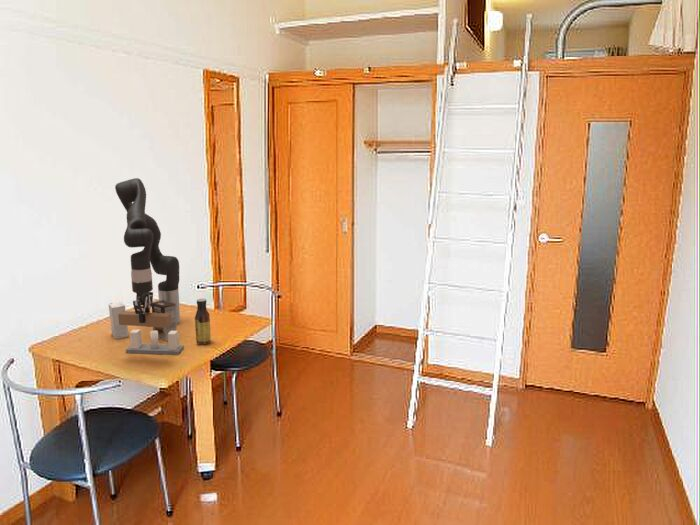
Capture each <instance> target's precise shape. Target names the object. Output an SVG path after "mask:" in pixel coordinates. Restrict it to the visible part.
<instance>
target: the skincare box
mask: <svg viewBox="0 0 700 525" xmlns="http://www.w3.org/2000/svg"><path fill="white" fill-rule="evenodd" d="M108 311H109V321H110V330H111V335H112V337H113V338H114V339H115V340H118V339H125V338H128V337H129V332H128V325H119V318H118V314H119V313H121V312H123V311H126V305H125V304H124V303H123V301H118V302H113V303H112V302H111V303H108Z"/></svg>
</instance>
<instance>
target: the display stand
mask: <svg viewBox="0 0 700 525" xmlns="http://www.w3.org/2000/svg"><path fill="white" fill-rule="evenodd" d="M149 333H150V335H149V336H150V343H143V341H142V340H143V338H142V330H141V329H140V328H139V329H137V328H134V329H132V330H131V331H130V332H129V342H130V343H129V344H130V345H129V346H128V347H127V348H125V354H139V353H140V355H141V354H142V355H143V354H144V355H145V354H146V355H148V354H149V355H170V356H171V355H172V356H174V355H175V356H179V354H181V352H182V351H183V350H184V349H185V346H184V345H183V344H180V338H179V330H177V331H170V332H169V333H168V341H167V344H160V343H159V342H160V341H159V340H160V339H158V331H156V330H154V331H153V330H151V331H150V332H149Z"/></svg>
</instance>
